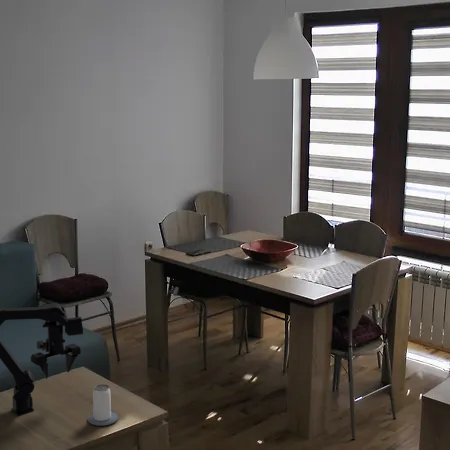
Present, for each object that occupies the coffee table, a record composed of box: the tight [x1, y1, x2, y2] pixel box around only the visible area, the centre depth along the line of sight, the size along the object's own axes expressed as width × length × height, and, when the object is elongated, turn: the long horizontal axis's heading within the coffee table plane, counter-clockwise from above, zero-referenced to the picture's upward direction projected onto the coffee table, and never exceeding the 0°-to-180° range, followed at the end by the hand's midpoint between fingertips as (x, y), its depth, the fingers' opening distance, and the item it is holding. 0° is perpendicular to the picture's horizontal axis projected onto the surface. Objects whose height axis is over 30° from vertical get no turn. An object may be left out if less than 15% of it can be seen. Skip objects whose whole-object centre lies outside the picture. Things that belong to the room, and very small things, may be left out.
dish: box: [87, 411, 119, 427], centre depth 259 cm, size 11×11×1 cm
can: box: [92, 383, 112, 421], centre depth 258 cm, size 6×6×12 cm
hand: (57, 375), depth 268 cm, fingers open, 9 cm apart
